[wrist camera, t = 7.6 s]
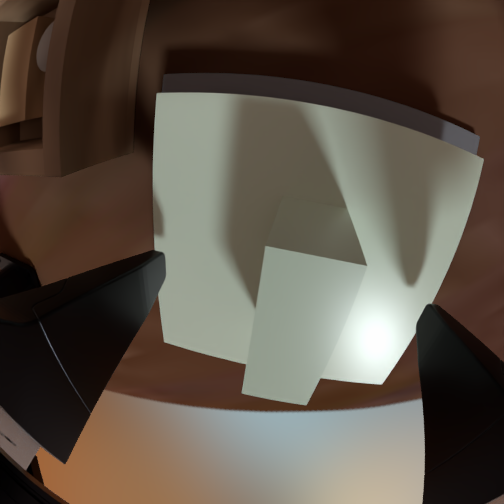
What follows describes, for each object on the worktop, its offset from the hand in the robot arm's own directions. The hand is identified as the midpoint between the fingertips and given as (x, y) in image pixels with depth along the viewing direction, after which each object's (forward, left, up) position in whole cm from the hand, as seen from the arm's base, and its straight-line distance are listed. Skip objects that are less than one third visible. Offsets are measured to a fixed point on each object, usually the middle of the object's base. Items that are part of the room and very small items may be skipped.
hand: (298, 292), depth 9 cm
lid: (0, 0, -3) cm, 3 cm away
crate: (-13, +8, -4) cm, 16 cm away
